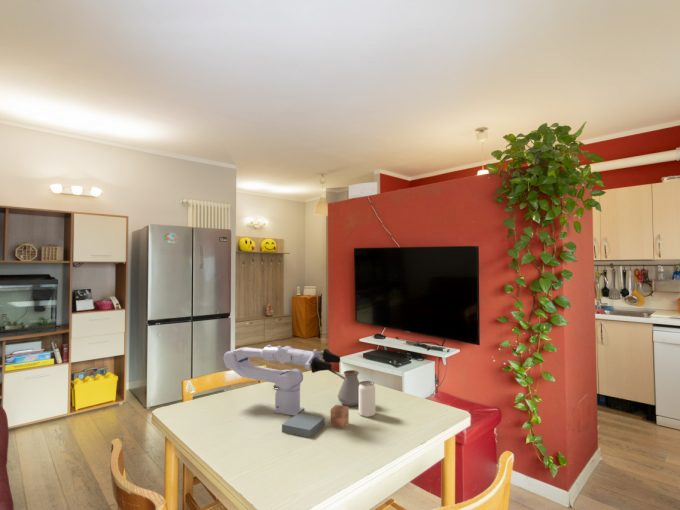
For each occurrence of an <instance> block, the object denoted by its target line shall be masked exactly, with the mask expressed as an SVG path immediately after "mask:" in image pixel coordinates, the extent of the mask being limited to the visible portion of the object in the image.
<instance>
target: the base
mask: <svg viewBox="0 0 680 510" xmlns="http://www.w3.org/2000/svg"><path fill="white" fill-rule="evenodd" d="M324 426H325V417H321V416H317V415H311V414H304V413H300V412H299V413H297V414H296V415H292V417H291V418H289V419H288V420H286V421H285V422H283V423H282V424H281V433H285V434H286V433H287V434H291V435H295V436H301V437H304V438H311V437H313V436H314V435H315V434H316V433H317V432H319V430H321V429H322V428H323V427H324Z"/></svg>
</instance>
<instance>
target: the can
mask: <svg viewBox="0 0 680 510" xmlns="http://www.w3.org/2000/svg"><path fill="white" fill-rule="evenodd" d="M359 383H360V385H359V405H358V414H359V416H361V417H364V418H370V417H374V416H375V415H376V386H375V382H374V381H373V380H372V381H371V380H361V381H359Z"/></svg>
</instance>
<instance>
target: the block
mask: <svg viewBox="0 0 680 510" xmlns="http://www.w3.org/2000/svg"><path fill="white" fill-rule="evenodd" d="M349 407H350V406H346V405H340V404H335V405H334V406H333V407H331V409H330V411H329V413H330V417H329V418H330V427H334V428H339V429H345V428H346V426H347V425H349V422H350V421H349V420H350V419H349V418H350V417H349Z"/></svg>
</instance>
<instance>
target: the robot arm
mask: <svg viewBox="0 0 680 510" xmlns="http://www.w3.org/2000/svg"><path fill="white" fill-rule="evenodd" d="M312 350H313V351H310V350H306V349H305V350H304V349H299V348H293V347H292V346H290V345H286V346H284V347H282V346H281V345H277V346H272V344H268V345H266V346H264V348H255V347H247V346H246V347H239V348H237V349H236V348H235V349H234V350H229V351H226V352H225V353H224V355H223V362H224V364H225V365H224V366H225V367H226V368H227V369H229V370H232V371H233V372H235V373H236V374H238V376H239V377H241V378H247V379H251V380H252V379H253V380H257V381H263V382H267V383H268V382H269V383H273V384H274V385H276V386H278V387H279V388H278V389H276V390H275V396H274V398H275V399H274V400H275V401H274V406H275V408H274V410H273V411H274V413H276V414H282V415H287V416H289V415H290V416H295V415H296V414H298V413H300V412H302V411H303V410H304V409H305V407H302V406H301V383H302V382H303V381H304V375H303V372H302V370H300V369H299V368H293V369H283V370H281V369H280V370H279V369H275V368H270V367H263V366H259V365H258V366H257V365H252V363H251V359H250V358H261V359H262V360H263V361H267V362H268V361H269V362H279V364H281V365H282V364H283V365H284V364H286V363H291V364H294V365H300V366H304V369H305V370H308V371H309V370H311V373H313V374H315V373H317V372H322V371H329V370H331V369H332V370H333V368H332V365H333V364H332V363H336V364H338V363H341V356H339V355H337V354H335V353H333V352H331V351H330V350H329V349H328V348H325V349H323V350H322V351H318V349H317V348H315V349H312Z"/></svg>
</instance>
